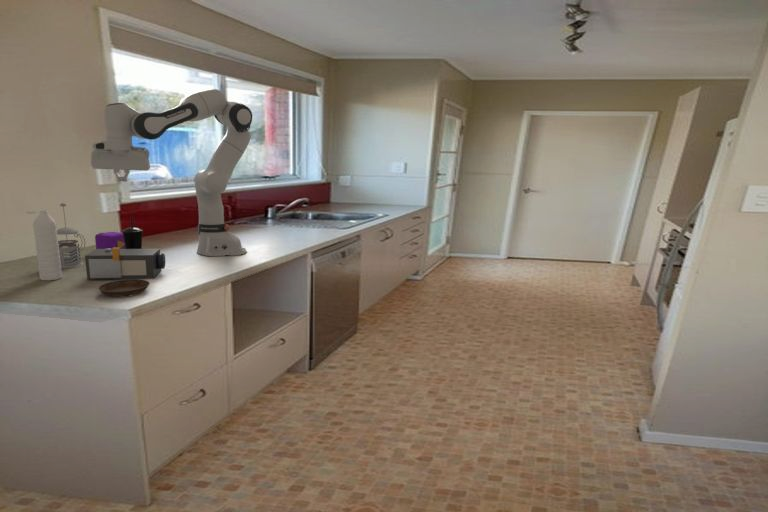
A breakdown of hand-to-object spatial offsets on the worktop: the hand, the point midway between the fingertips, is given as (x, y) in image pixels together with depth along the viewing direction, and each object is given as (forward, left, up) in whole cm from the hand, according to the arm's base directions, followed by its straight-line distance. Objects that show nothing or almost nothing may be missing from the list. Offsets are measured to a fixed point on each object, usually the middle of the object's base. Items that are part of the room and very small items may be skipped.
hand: (122, 181), depth 176 cm
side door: (+1, +25, -33) cm, 41 cm away
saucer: (-10, +40, -35) cm, 54 cm away
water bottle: (+20, +22, -34) cm, 45 cm away
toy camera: (+12, -22, -34) cm, 43 cm away
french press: (+21, 0, -34) cm, 40 cm away
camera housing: (-4, +18, -34) cm, 39 cm away
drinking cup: (-1, -4, -34) cm, 35 cm away
